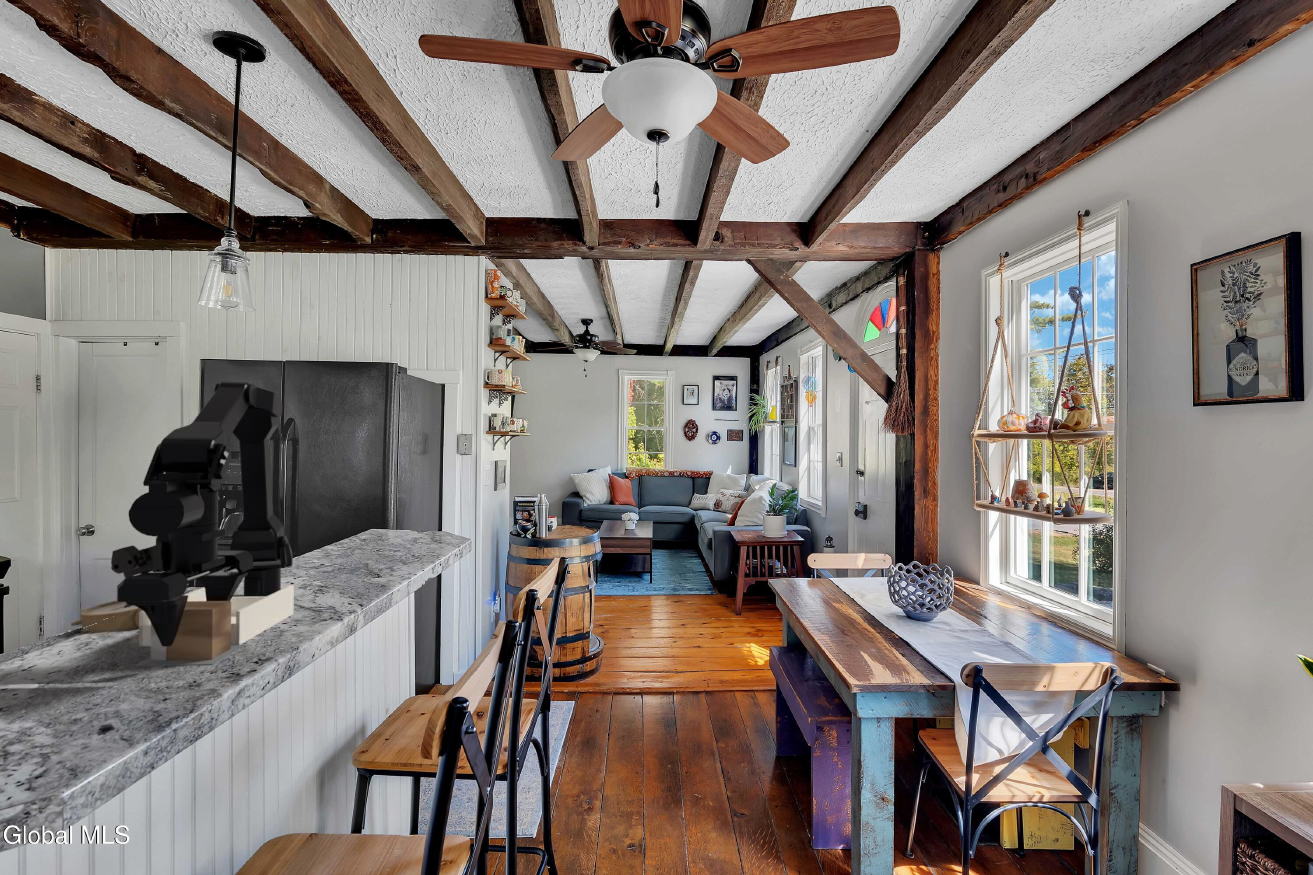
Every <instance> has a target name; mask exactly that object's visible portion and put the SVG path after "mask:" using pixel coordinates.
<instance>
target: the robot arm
mask: <svg viewBox="0 0 1313 875" xmlns="http://www.w3.org/2000/svg"><path fill="white" fill-rule="evenodd" d="M282 415H283V402H282V399H281V398H280V397H279V396H278V395H277V394H276V393H275V392H274V391H271V390H268V389H264V388H261V387H258V386H256V385H255V383H250V382H249V381H225V380H224V381H223V380H222V381H221V382H216V384H215V387H214V392H213V394H212V396H210V398H209V399H208V401H207V402H206V404H204V406H203V407H202V409H201V411H200V412H199V413H198V414H197V416H196V417H195V419H193V420H192V422H191V423H190V424H188V425H185V426H182V427H178V428H176V429H173V430H172V431H171V432H170V433H168V434H167V435H166V436H165V437H163V439H162V440H161V442H160V443H159V444H158V445H157V446H156V449H155V451H154V453H153V456H152V458H151V461H150V464H149V466H148V469H147V472H146V474H145V476H144V480H143V481H142V484H143V486H144V487H148V492H145V493H144V494H141V495H140V496H139V497H137V498H136V499H135V500H134V501H133V502H132V504H131V507H130V508H129V510H128V520H129V522H130V524H131V526H132V527H133V529H135V531H137V532H138V533H140V534H141V535H145V536H149V537H156V538H155V545H153V546H150V547H146V548H141V549H139V548H138V547H136V546H135V545H129V546H125V547H121V548H118V549H114V550H113V551H112V555H111V561H110V562H111V563H110V564H111V567H110V568H111V570H112V571H113V572H114V573H116V574H119V575H121V574H123V577H124V579H123V580H122V581H120V582H119V584H117V586H116V601H118V602H126V604H127V605H129V606H136V607H138V608H140V609H141V610H143V611H144V612H145V613H146V615H147V616H148V618H149V620H150V622H151V624H152V626H153V628H154V630H155V632H156V634H157V636H158V639H159V641H160V643H161V645H162V646H163V647H169V646H172V645H173V642H174V640H175V637H176V635H177V632H178V628H179V625H180V622H181V619H182V615H183V612H184V609H185V606H186V603H187V599H188V595H183V594H185V593H186V591H187V589H188V586H189V584H188V583H189V582H192V581H195V580H197V581H198V582H199V583H200V584H201V585H202V586H203V588H204V587H205V593H206V601H230V600H231V598H232V597H234V595H235V593H236V591H237V590H238V588H239V586H240V585H241V583H242V582H243V597H267V596H269V595H271V594H273V593H275V592H277V591H279V590H281V589H282V569H286V568H289V567H293V562H294V559H293V558H294V557H293V551H292V547H291V544H290V542H289V539H288V537H287V536H286V535H285V526H284V524H283V523H282V522H281V521H280V519H279V518H278V517H277V516H276V515H275V514H274V506H273V481H272V480H273V479H272V460H271V459H272V458H271V436H272V435H273V434H274V432H275V431H276V429H277V428H278V427H279V425H280V418H281V417H282ZM231 435H233V436H234V437H235V438H236V440H238V444H239V462H240V466H239V467H240V479H241V480H240V481H241V483H240V484H241V498H242V499H241V500H242V501H241V502H242V504H241V505H242V520H241V521H240V523H239V525H238V526H237V528H236V529H235V530H234V531H233V533H232V535H231V539H232V540H231V543H230V550H219V538H221V537H225V536H226V528H219V489H221V487H222V486H221V483H220V480H223V479H224V478H225V474H226V472H227V469H228V467H229V465H230V462H231V460H232V452H231V451H230V448H229V445H228V443H227V442H228V441H229V438H230V437H231Z"/></svg>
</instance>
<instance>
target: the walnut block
mask: <svg viewBox="0 0 1313 875" xmlns="http://www.w3.org/2000/svg"><path fill="white" fill-rule="evenodd" d="M230 649H231V601H187V603H186V606H185V609H184V612H183V615H182V619H181V622H180V625H179V628H178V632H177V635H176V637H175V640H174V642H173V645H172V646H169V647H163V646H162V645H161V643H160V641H159V639H158V636H157V634H156V632H155V630H154V628H153V626H152V624H151V646H150V657H151V661H158V660H212V659H214V658H216V657H217V656H219V655H221V654H223V653H224V652H226V651H228V650H230Z"/></svg>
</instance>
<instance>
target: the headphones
mask: <svg viewBox="0 0 1313 875" xmlns="http://www.w3.org/2000/svg"><path fill="white" fill-rule="evenodd" d="M183 595H185V593H184V594H183ZM141 611H143V610H141V609H140V608H138V607H136V606H129V605H127V604H126V602H118V601H117V600H113V601H109V602H108V601H107V602H105V603H101V604H97V605H95V606H91V607H88V608H86V609H84V610H82V611H81V612H80V613H79V614H80V615H79V616H80V619H79V620H77V621H74V622H71V624H70V626H71V627H73V626H79V625H81V632H82V631H83V632H82V633H85V632H92V633H107V632H108V633H109V632H119V631H125V630H126V631H127V630H134V629H137V628H138V629H139V612H141ZM113 616H114V617H113ZM106 618H108V619H106ZM103 619H105V620H103ZM95 623H97V624H95ZM92 624H94V625H92ZM89 625H92V626H89ZM86 626H89V627H87V628H85V629H82V628H83V627H86ZM86 629H87V630H86Z"/></svg>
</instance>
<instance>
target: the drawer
mask: <svg viewBox="0 0 1313 875" xmlns="http://www.w3.org/2000/svg"><path fill="white" fill-rule="evenodd" d="M184 594H185V593H184ZM294 594H295V585H294V584H290V585H288V586H285V587H283V588H281V590H279V591H277V592H275V593H273V594H271V595H269V596H267V597H244V596H232V598H231V600H230V601H231V645H243V644H244V643H245V642H247V641H249V640H250V639H252V638H254V637H255V636H257V635H259V634H261V633H263V632H265V631H266V630H268V629H269V628H271V627H273V626H275V625H276V624H278V623H280V622H282V621H284V620H285V619H287V618H289V617H290V616H292V615H294V608H295V606H294V602H295V601H294V600H295V598H294ZM185 595H188V599H187V601H206V593H205V587H204V586H203V587H201V588H198V589H196V590H194V591H193V590H192V591H191V592H188V593H186V594H185ZM138 647H151V622H150V620H149V618H148V616H147V615H146V613H145V612H144V611H141V612H139V627H138Z"/></svg>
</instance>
